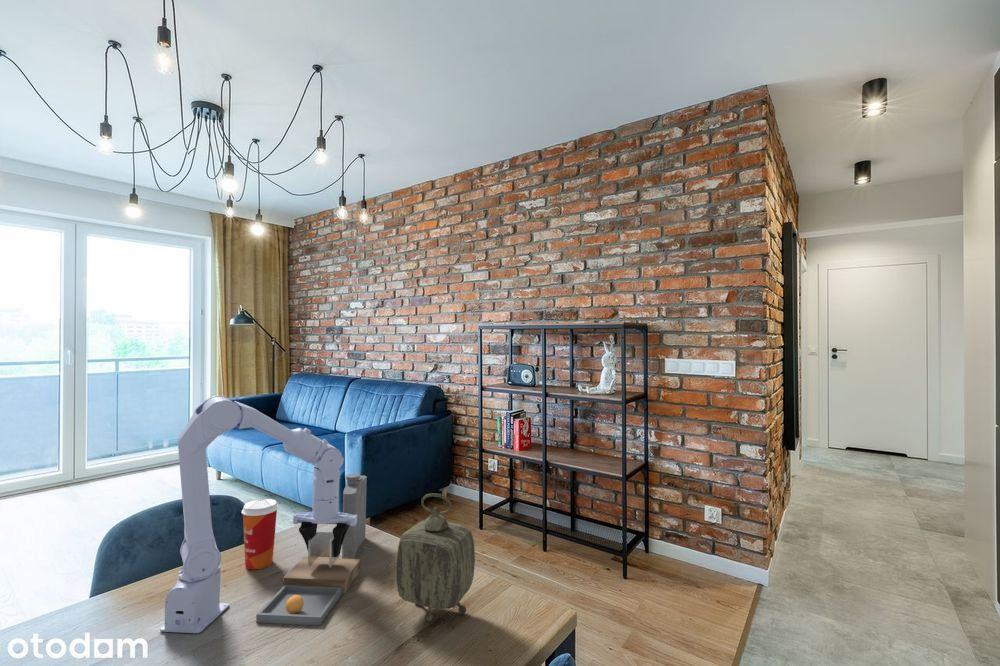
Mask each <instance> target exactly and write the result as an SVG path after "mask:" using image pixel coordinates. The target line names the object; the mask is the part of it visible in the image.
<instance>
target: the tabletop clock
mask: <svg viewBox="0 0 1000 666" xmlns="http://www.w3.org/2000/svg"><path fill="white" fill-rule="evenodd" d="M431 497H432V498H433V497H434V498H440V499H443V500H444V501H446V503H448V505H449V508H448V509H447V510H443V511H440V509H439V507H438V506H434V507H433V509H430V508H429V507H427V506H426V505H425V503H424V501H425V500H426V499H427V498H431ZM420 502H421V507H422V508H423V509H424V510H425V511H426V512H428V513H429V514H431V515H428V517H427V518H425V520H420V521H419V522H417V523H416V524H415V525H413V526H412V527H410V528H409V529H408V530H407V531H405V532H403V533H402V534H401V537H400V538H399V542H398V546H397V555H396V588H397V593H398V596H399V597H400V598H401V599H403V600H404V601H405V602H408V603H411V604H415V605H419V606H422V607H427V608H428V609H427V612H426V613H425V615H424V619H425V622H427V623H429V622H432V621H433V617H434V615H433V614H432V608H434V609H437V610H438V609H440V610H445V609H446V610H447V609H449V610H450V609H452V608H456V607H458V613H459V614H460V615H464V614H465V613H466V611H467V607H466V605H464V604H461V603H460V602H461V600H462V599H463V598H464V596H465V595H466V594H467V593H468V592H469V590H470V589H471V586H472V584H473V580H474V577H475V576H474V575H475V567H476V566H475V565H476V552H475V551H476V550H475V541H474V536H473V533H472V530H471V529H470V528H469V527H466V526H464V525H462V524H458V523H454V522H450V521H447V519H446V517H445V516H444V515H447V514H448V513H450V512H451V510H452V508H453V507H452V501H450V499H449V498H448V497H447V496H446V495H443V494H441V493H435V492H434V493H433V492H431V493H430V492H429V493H427V494H425V495H424V496H423V497H421V501H420Z"/></svg>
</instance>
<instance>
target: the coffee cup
mask: <svg viewBox="0 0 1000 666" xmlns="http://www.w3.org/2000/svg"><path fill="white" fill-rule="evenodd" d="M278 509H279V505H278V502H277V500H275V499H272V498H265V499H258V500H255V499H254V500H252V501H249V502H247V503H245V504H244V505H243V509H242V510H241V514H242V517H243V518H242V520H243V522H242V523H243V524H242V525H243V543H244V545H243V547H244V548H243V549H244V564H245V568H246V570H249V569H251V570H250V571H256V570H255V569H259V570H262V569H261V568H263V569H266V568H268V567H270V566H271V565H272V564H271V563H273V560H274V559H273V558H274V549H275V538H276V537H275V536H276V526H277V525H276V524H277V514H278V513H277V512H278ZM269 565H270V566H269ZM267 566H268V567H267ZM265 567H266V568H265Z"/></svg>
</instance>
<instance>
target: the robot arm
mask: <svg viewBox="0 0 1000 666" xmlns="http://www.w3.org/2000/svg"><path fill="white" fill-rule="evenodd" d="M235 427H236V428H238V430H241V429H248V428H252V429H255V430H256V431H259V432H261V433H263V434H266V435H267V436H269V437H271V438H273V439H275V440H277V441H279V442H281V443H282V446H283V449H284V452H286V453H288V454H290V455H292V456H294V457H296V458H298V459H300V460H302V461H303V462H306V463H308V464H311V465H312V466H313V478H312V511H309V512H308V511H307V512H296V513H295V514H294V515H293V516H292V517H293V518H292V524H293V525H298V524H300V527H299V528H298V532H299V534H300V535H301V536H302V538H303V540H304V543H305V546H306V549H307V551H308V540H309V539H310V538H311V537H312V536H313V535H314V534H315V533H316V532H317V531H318V530H317V529H318V525H319V524H321V525H336V526H335V527H334V528H332V530H331V531H333V537H334V557H338V555H339V554H340V555H341V552H342V543H343V540H344V537H345V535H346V532H347V530H348V528H349V526H355V525H356V524H357V515H352V514H346V513H343V512H342V511H341V512H340V511H339V500H340V499H339V497H340V493H339V492H340V469H341V468H342V466H343V464H344V459H345V458H344V457H343V454H342V452H341V451H340V450H339V448H338V447H337V448H336V447H335V446H333V445H332V444H330V442H329V441H328V440H327V439H325V438H322V439H321V438H319V437H317V436H316V435H314V434H312V430H310V429H308V428H307V427H305V428H301V427H297V428H294V429H290V428H288V427H287V426H285V425H284V424H281V423H279V422H278V421H276V420H274V419H273V418H271V417H270V416H268V415H266V414H264V413H263V412H261V411H259V410H258V409H256V408H254V407H252V406H249V405H247V404H245V403H241V402H239V401H236V400H234V401H232V400H231V399H230V398H229V397H227V396H225V395H213V396H210V397H208V398H207V399H206V400H204V401H203V402H202V403H200V404H199V405H198V406H197V407H196V408H195V409H194V411H193V413H192V415H191V416H190V418H189V420H188V422H187V424H186V425H185V427H184V429H183V430H182V432H181V433H180V435H179V437H178V440H177V449H178V460H179V461H178V462H179V474H180V475H179V476H180V486H181V487H180V488H181V498H182V499H181V500H182V509H183V510H182V512H183V522H184V526H183V527H184V528H183V532H184V533H183V534H184V538H183V541H182V543H181V545H180V549H179V554H180V556H181V559H182V564H183V566H182V567H181V568H180V570H179V571H178V575H177V580H176V584H175V585H174V586H173V588H172V589H171V590H170V591H168V593H167V594H166V597H165V601H164V625H163V626H161V627H160V629H159V631H160V632H165V633H184V634H199V633H202V632H203V630H205V629H206V628H207V627H208V626H209V625H210V624H211V623H213V622H214V621H215V620H216V618H218V617H219V616H220V615H221V614H222V613H224V611H225V610H226V609H227V608H229V607H230V603H224V602H221V600H220V599H221V567H222V566H221V562H222V555H221V552H220V550H219V548H218V546H217V543H216V539H215V536H214V530H213V523H212V512H211V511H212V510H211V498H210V488H209V475H208V474H209V471H208V460H207V459H208V458H207V448H208V447H209V445H211V444H212V443H213V442H214V441H215V440H216V439H217V438H218V437H219V436H221V435H223V434H225V433H227V432H229V431H231V430H233V429H234V428H235Z"/></svg>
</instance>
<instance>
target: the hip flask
mask: <svg viewBox="0 0 1000 666" xmlns="http://www.w3.org/2000/svg"><path fill="white" fill-rule="evenodd" d="M345 478H346V485H345V487H344V489H343V492H342V494H343V495H342V496H343V497H342V501H343V502H342V513H346V514H352V515H357V524H356V525H355V526H349V528H348V530H347V532H346V535H345V537H344V540H343V543H342V546H341V559H356V555H357V552H358V550H359V548H360V546H361V545H362V543H363V542H364V541H365V540H366V530H367V529H366V528H367V527H366V525H367V522H366V520H367V482H368V480H367V479H368V476H366V475H361V474H359V473H350V474H347V475H346V476H345Z"/></svg>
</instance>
